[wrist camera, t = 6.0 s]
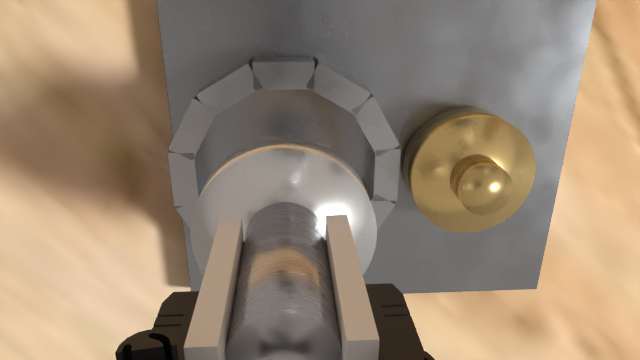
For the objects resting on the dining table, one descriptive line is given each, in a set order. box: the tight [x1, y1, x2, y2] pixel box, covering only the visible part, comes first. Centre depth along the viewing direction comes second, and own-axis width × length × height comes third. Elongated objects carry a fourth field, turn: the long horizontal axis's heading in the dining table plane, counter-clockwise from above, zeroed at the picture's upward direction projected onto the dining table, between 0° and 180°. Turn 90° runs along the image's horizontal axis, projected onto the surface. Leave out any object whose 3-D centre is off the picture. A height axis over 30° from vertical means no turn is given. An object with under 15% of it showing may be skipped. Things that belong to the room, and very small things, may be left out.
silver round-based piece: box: [191, 138, 377, 360], centre depth 16 cm, size 7×7×8 cm
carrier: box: [157, 0, 597, 294], centre depth 24 cm, size 16×20×5 cm
